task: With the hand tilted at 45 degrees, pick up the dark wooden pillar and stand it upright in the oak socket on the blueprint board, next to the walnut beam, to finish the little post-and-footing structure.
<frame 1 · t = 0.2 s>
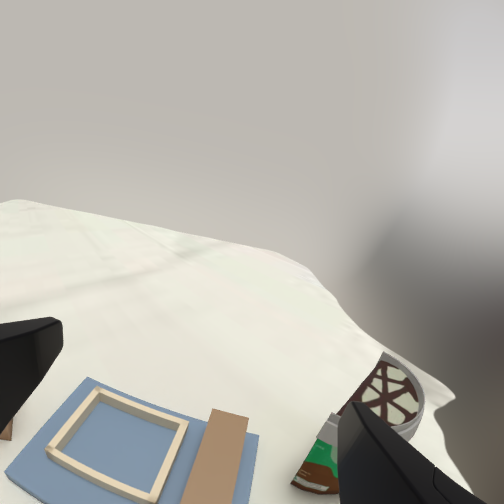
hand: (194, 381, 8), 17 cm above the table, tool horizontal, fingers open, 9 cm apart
food container: (343, 471, 22), on the table
blueprint board: (139, 470, 18), on the table
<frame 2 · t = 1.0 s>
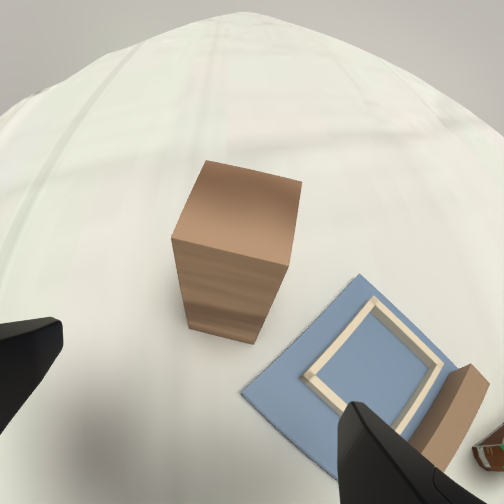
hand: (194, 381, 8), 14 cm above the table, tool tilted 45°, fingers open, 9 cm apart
pillar: (228, 307, 24), on the table
food container: (502, 450, 18), on the table
blueprint board: (379, 401, 21), on the table
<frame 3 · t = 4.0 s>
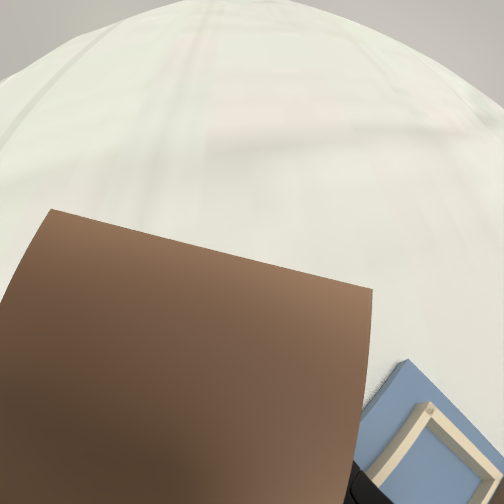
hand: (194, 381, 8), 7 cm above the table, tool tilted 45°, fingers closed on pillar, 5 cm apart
pillar: (196, 424, 13), on the table, touching gripper
when the fingers open (9 cm above the table, at t = 8.0 s): pillar drops 2 cm, resting on blueprint board.
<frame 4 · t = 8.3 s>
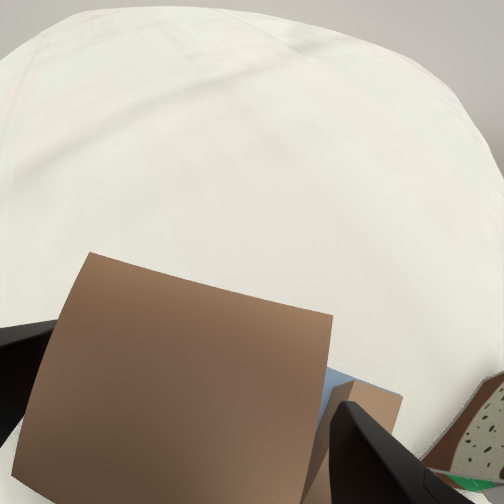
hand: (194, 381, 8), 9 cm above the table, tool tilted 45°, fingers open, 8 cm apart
pillar: (198, 423, 14), point 1 cm above the table, touching blueprint board
food container: (467, 447, 15), on the table
blueprint board: (224, 453, 15), on the table
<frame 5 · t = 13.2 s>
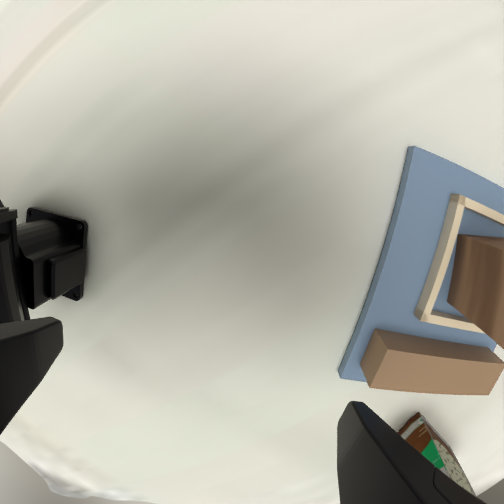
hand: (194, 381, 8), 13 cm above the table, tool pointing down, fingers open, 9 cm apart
pillar: (477, 269, 19), point 1 cm above the table, touching blueprint board
food container: (411, 446, 24), on the table
blueprint board: (453, 287, 20), on the table
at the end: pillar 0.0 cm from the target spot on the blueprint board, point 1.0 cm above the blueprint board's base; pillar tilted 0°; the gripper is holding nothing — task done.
